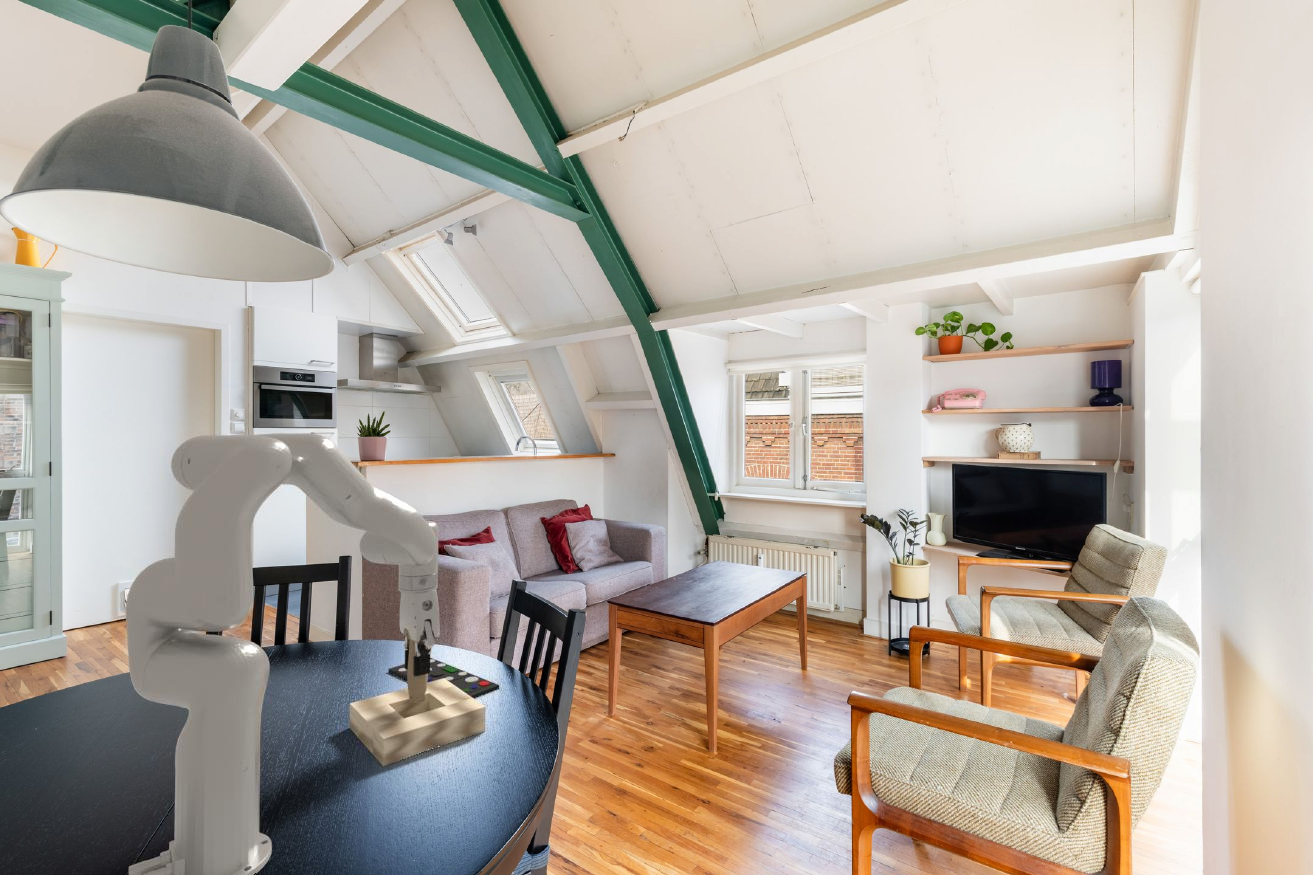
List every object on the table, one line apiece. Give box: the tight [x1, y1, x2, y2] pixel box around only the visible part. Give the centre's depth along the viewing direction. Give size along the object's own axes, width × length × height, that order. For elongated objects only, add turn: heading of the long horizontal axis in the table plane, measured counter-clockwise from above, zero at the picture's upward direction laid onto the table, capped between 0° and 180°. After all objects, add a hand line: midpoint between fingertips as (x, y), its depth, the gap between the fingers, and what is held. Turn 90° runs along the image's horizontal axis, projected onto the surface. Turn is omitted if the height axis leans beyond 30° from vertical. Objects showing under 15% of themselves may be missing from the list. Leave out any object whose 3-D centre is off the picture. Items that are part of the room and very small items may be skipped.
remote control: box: [388, 657, 500, 699], centre depth 150 cm, size 11×30×2 cm, turn 52°
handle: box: [403, 629, 433, 704], centre depth 124 cm, size 5×6×15 cm
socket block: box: [349, 678, 486, 767], centre depth 124 cm, size 20×20×5 cm
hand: (417, 670), depth 124 cm, fingers closed on handle, 3 cm apart
